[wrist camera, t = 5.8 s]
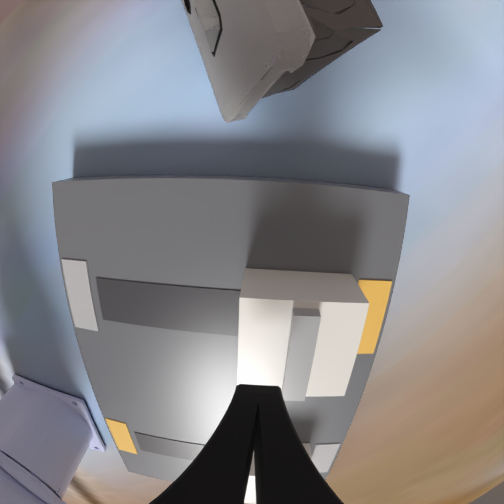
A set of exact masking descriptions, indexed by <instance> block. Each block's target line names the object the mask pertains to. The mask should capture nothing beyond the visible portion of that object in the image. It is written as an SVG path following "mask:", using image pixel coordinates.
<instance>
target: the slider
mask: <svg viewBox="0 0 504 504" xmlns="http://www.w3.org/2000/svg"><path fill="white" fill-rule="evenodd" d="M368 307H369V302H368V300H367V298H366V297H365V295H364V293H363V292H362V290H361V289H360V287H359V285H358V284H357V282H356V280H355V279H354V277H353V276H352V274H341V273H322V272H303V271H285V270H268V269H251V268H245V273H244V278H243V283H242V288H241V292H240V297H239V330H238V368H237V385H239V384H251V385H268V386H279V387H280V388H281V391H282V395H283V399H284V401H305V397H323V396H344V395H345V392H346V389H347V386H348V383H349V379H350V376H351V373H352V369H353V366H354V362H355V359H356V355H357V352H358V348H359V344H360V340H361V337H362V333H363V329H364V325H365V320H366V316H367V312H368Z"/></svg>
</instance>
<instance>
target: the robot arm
mask: <svg viewBox="0 0 504 504" xmlns="http://www.w3.org/2000/svg"><path fill="white" fill-rule="evenodd" d="M12 379H13V381H14V383H15V384H14V385H13V386H12V387H11V388H10V389H9V390H8V392H7V393H6V394H5V395H4V396H3V397H2V398H1V400H0V504H67V503H65V502H64V501H62V498H63V496H64V494H65V492H66V490H67V488H68V486H69V484H70V482H71V480H72V478H73V476H74V474H75V472H76V470H77V468H78V466H79V464H80V462H81V460H82V458H83V456H84V454H85V452H86V451H87V449H88V447H89V448H92V449H95V450H98V451H101V452H105V451H106V447H105V445H104V443H103V441H102V439H101V437H100V435H99V433H98V431H97V429H96V427H95V425H94V422H93V420H92V418H91V416H90V413H89V411H88V409H87V406H86V404H85V402H84V401H83V400H82V399H79V398H76V397H73V396H70V395H67V394H64V393H61V392H58V391H55V390H53V389H50V388H47V387H45V386H42V385H39V384H37V383H34V382H32V381H29V380H27V379H24V378H22V377H20V376H17V375H13V376H12ZM253 452H254V465H255V489H256V504H344V503H343V502H342V501H341V500H340V499H339V498H338V497H337V495H336V494H335V493H334V492H333V490H332V489H331V488H330V487H329V485H328V484H327V483H326V481H325V480H324V478H323V477H322V476H321V474H320V473H319V471H318V470H317V468H316V467H315V465H314V463H313V462H312V460H311V458H310V457H309V455H308V453H307V452H306V450H305V448H304V446H303V444H302V442H301V440H300V438H299V436H298V434H297V432H296V430H295V428H294V426H293V423H292V421H291V419H290V416H289V414H288V411H287V408H286V405H285V402H284V399H283V395H282V391H281V388H280V387H279V386H268V385H251V384H239V385H237V386H236V389H235V393H234V395H233V398H232V400H231V402H230V405H229V407H228V409H227V411H226V412H225V414H224V416H223V418H222V420H221V421H220V423H219V425H218V426H217V428H216V430H215V431H214V433H213V434H212V436H211V437H210V439H209V440H208V442H207V443H206V444H205V446H204V447H203V449H202V450H201V451H200V453H199V454H198V455H197V456H196V458H195V459H194V460H193V461H192V463H191V464H190V465H189V466H188V467H187V468H186V469H185V471H184V472H183V473H182V474H181V475H180V476H179V477H178V478H177V479H176V480H175V481H174V482H173V483H172V484H171V485H170V486H169V487H168V488H167V489H166V490H165V491H164V492H162V493H161V494H160V495H159V496H158V497H157V498H155V499H154V500H153V501H152V502H150V503H149V504H244V500H245V495H246V490H247V484H248V479H249V474H250V468H251V463H252V457H253Z"/></svg>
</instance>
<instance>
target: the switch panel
mask: <svg viewBox="0 0 504 504" xmlns="http://www.w3.org/2000/svg"><path fill="white" fill-rule="evenodd" d="M52 189H53V205H54V217H55V227H56V235H57V243H58V251H59V257H60V264H61V270H62V276H63V281H64V286H65V291H66V296H67V301H68V306H69V310H70V314H71V318H72V322H73V326H74V330H75V334H76V338H77V341H78V345H79V348H80V352H81V355H82V359H83V362H84V365H85V368H86V371H87V374H88V377H89V380H90V383H91V386H92V389H93V391H94V394H95V397H96V400H97V402H98V405H99V407H100V410H101V412H102V415H103V417H104V420H105V422H106V425H107V427H108V429H109V432H110V434H111V436H112V438H113V441H114V443H115V445H116V447H117V449H118V451H119V453H120V455H121V457H122V459H123V461H124V463H125V465H126V467H127V469H128V471H129V472H133V473H137V474H141V475H145V476H149V477H153V478H157V479H162V480H166V481H171V482H174V481H175V480H176V479H177V478H178V477H179V476H180V475H181V474H182V473H183V472H184V471H185V469H186V468H187V467H188V466H189V465H190V464H191V463H192V461H193V460H194V459H195V458H196V456H197V455H198V454H199V453H200V451H201V450H202V449H203V447H204V446H205V444H206V443H207V442H208V440H209V439H210V437H211V436H212V434H213V433H214V431H215V430H216V428H217V426H218V425H219V423H220V421H221V420H222V418H223V416H224V414H225V412H226V411H227V409H228V407H229V405H230V402H231V400H232V398H233V395H234V393H235V389H236V386H237V368H238V330H239V297H240V292H241V288H242V283H243V278H244V273H245V268H251V269H268V270H285V271H303V272H322V273H341V274H352V276H353V277H354V279H355V280H356V282H357V284H358V285H359V287H360V289H361V290H362V292H363V293H364V295H365V297H366V298H367V300H368V302H369V307H368V312H367V316H366V320H365V325H364V329H363V333H362V337H361V340H360V344H359V348H358V352H357V355H356V359H355V362H354V366H353V369H352V373H351V376H350V379H349V383H348V386H347V389H346V392H345V395H344V396H323V397H305V401H284V402H285V405H286V408H287V411H288V414H289V416H290V419H291V421H292V423H293V426H294V428H295V430H296V432H297V434H298V436H299V438H300V440H301V442H302V443H310V447H311V458H312V462H313V463H314V465H315V467H316V468H317V470H318V471H319V473H320V474H321V476H322V477H323V478H324V480H326V478H327V476H328V474H329V472H330V470H331V467H332V465H333V463H334V461H335V459H336V457H337V455H338V453H339V450H340V448H341V446H342V444H343V441H344V439H345V437H346V434H347V432H348V430H349V427H350V425H351V422H352V420H353V417H354V415H355V412H356V410H357V407H358V404H359V402H360V399H361V396H362V394H363V391H364V388H365V385H366V382H367V380H368V377H369V374H370V371H371V368H372V365H373V361H374V358H375V355H376V352H377V349H378V345H379V342H380V338H381V335H382V331H383V328H384V324H385V320H386V317H387V313H388V309H389V305H390V301H391V297H392V292H393V288H394V284H395V279H396V274H397V270H398V265H399V260H400V254H401V249H402V243H403V238H404V232H405V225H406V219H407V212H408V204H409V196H410V195H408V194H405V193H402V192H399V191H396V190H393V189H385V188H377V187H369V186H361V185H352V184H342V183H332V182H321V181H309V180H296V179H282V178H266V177H246V176H218V175H126V176H99V177H80V178H70V179H65V180H60V181H56V182H52Z"/></svg>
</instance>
